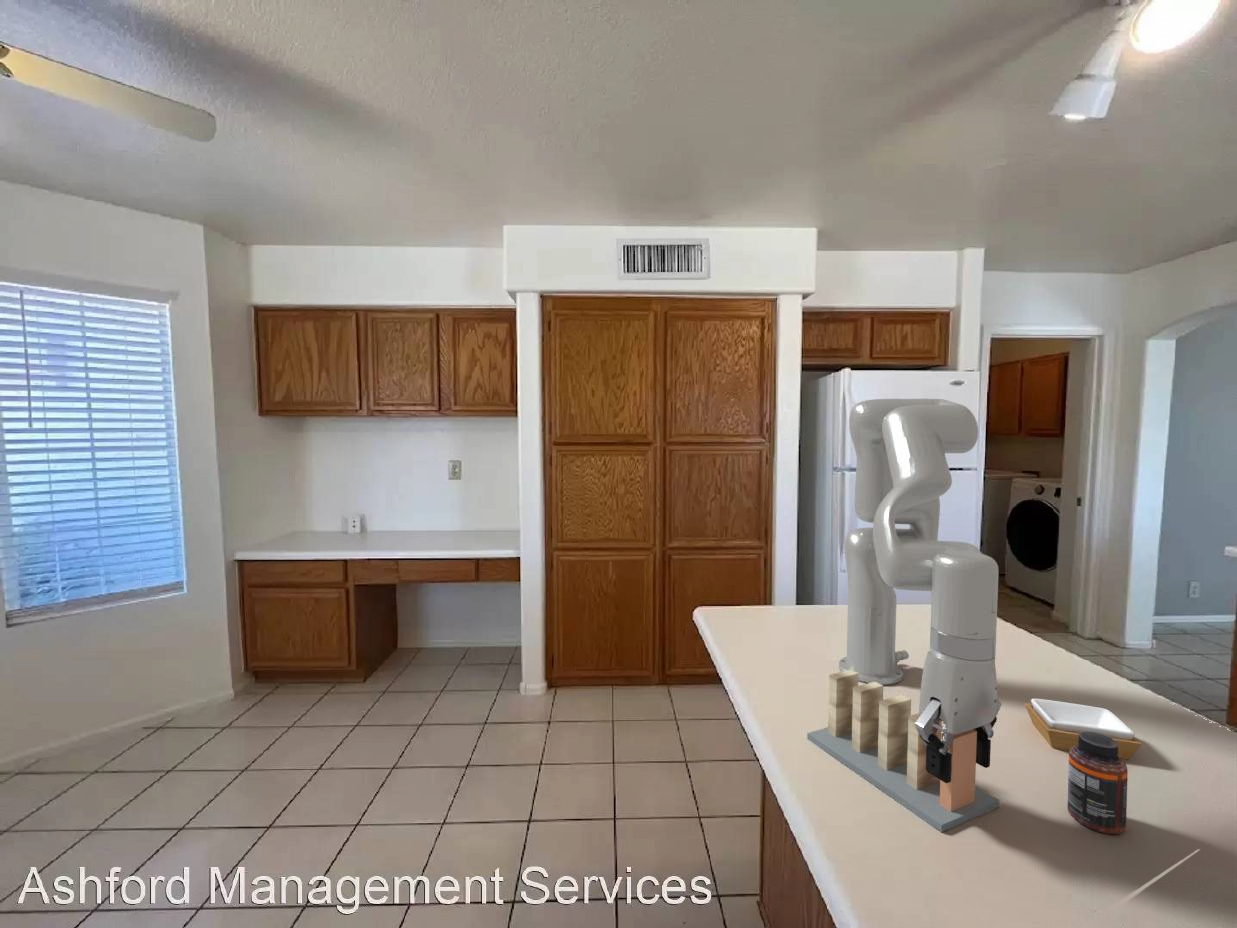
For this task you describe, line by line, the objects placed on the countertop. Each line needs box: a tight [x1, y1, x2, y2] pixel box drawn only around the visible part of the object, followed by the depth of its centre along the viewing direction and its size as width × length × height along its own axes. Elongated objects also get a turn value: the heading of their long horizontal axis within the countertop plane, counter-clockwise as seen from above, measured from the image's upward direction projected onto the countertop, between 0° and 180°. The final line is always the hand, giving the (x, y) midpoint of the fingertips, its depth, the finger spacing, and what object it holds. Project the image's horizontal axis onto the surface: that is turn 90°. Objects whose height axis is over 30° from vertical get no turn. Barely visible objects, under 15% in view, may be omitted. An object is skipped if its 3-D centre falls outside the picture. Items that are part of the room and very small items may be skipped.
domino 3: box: [878, 694, 912, 770], centre depth 84 cm, size 5×2×10 cm, turn 114°
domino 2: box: [852, 682, 884, 752], centre depth 88 cm, size 5×2×10 cm, turn 114°
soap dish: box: [1024, 698, 1142, 760], centre depth 92 cm, size 12×10×5 cm
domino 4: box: [907, 712, 943, 790], centre depth 79 cm, size 5×2×10 cm, turn 114°
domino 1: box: [827, 670, 859, 737], centre depth 93 cm, size 5×2×10 cm, turn 114°
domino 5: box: [940, 729, 977, 811], centre depth 75 cm, size 5×2×10 cm, turn 114°
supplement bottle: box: [1067, 731, 1129, 835], centre depth 73 cm, size 6×6×11 cm
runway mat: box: [806, 727, 1000, 833], centre depth 84 cm, size 12×24×1 cm, turn 24°
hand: (957, 768), depth 75 cm, fingers open, 7 cm apart
